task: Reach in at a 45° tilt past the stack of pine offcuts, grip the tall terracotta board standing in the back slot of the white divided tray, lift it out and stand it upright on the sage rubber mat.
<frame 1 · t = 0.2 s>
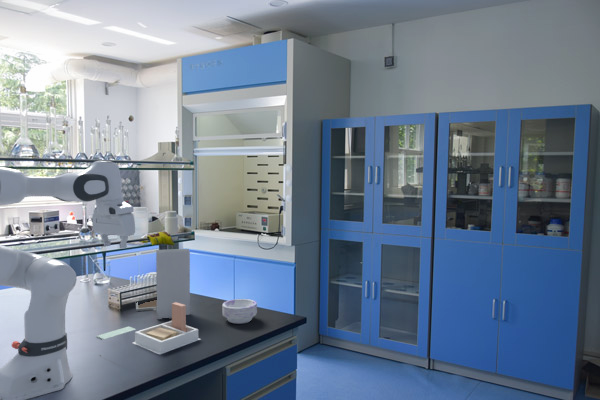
hand: (115, 247, 159), 39 cm above the table, tool pointing down, fingers open, 8 cm apart
sage mat: (122, 336, 181), on the table
white divided tray: (172, 341, 177), on the table
clipboard: (156, 303, 227), on the table
terracotta board: (178, 336, 179), point 1 cm above the table, touching white divided tray
offcut upper: (161, 337, 172), point 3 cm above the table, touching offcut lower
paper bowls: (239, 321, 202), on the table
brochure: (173, 316, 206), on the table
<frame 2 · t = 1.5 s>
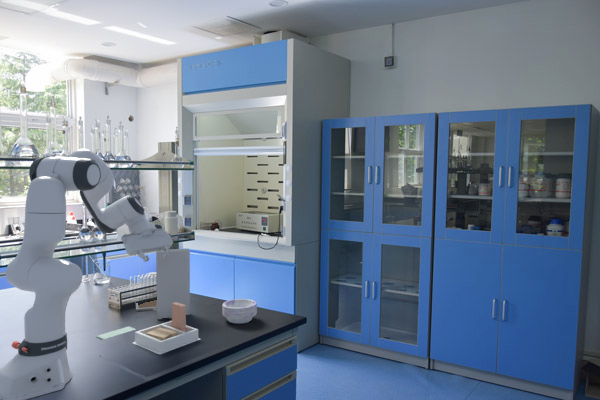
hand: (157, 258, 185), 30 cm above the table, tool tilted 45°, fingers open, 8 cm apart
nothing on the table moved.
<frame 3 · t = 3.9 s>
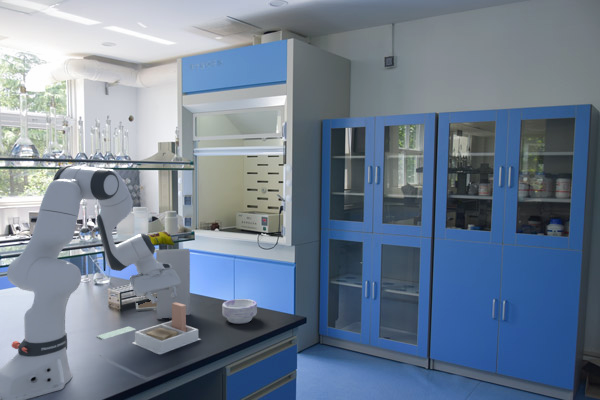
hand: (165, 299, 183), 14 cm above the table, tool tilted 45°, fingers open, 8 cm apart
nothing on the table moved.
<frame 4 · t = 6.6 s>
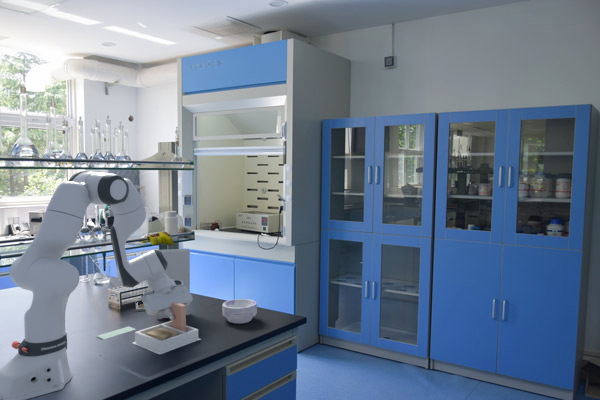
hand: (177, 317, 179), 8 cm above the table, tool tilted 45°, fingers closed on terracotta board, 2 cm apart
terracotta board: (178, 336, 179), point 1 cm above the table, touching gripper, white divided tray
everything else where it was.
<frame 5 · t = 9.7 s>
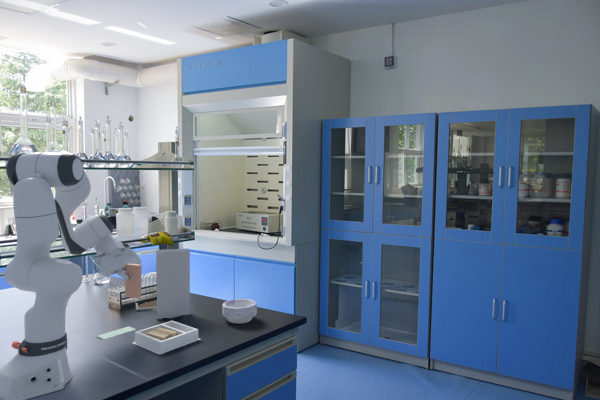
hand: (131, 278, 181), 23 cm above the table, tool tilted 45°, fingers closed on terracotta board
terracotta board: (133, 296, 181), point 16 cm above the table, touching gripper
everything else where it was.
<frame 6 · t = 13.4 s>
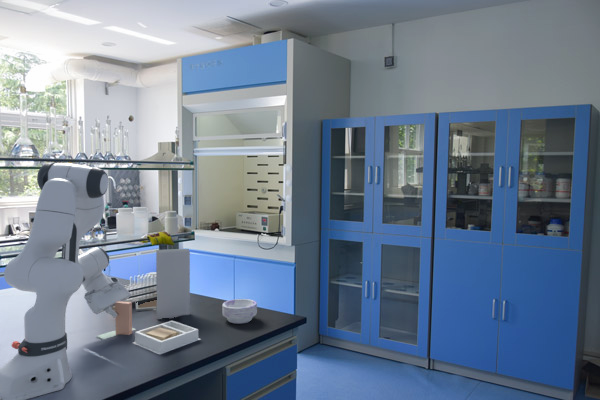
hand: (121, 313, 181), 9 cm above the table, tool tilted 45°, fingers open, 5 cm apart
terracotta board: (123, 334, 182), resting on sage mat
everything else where it was.
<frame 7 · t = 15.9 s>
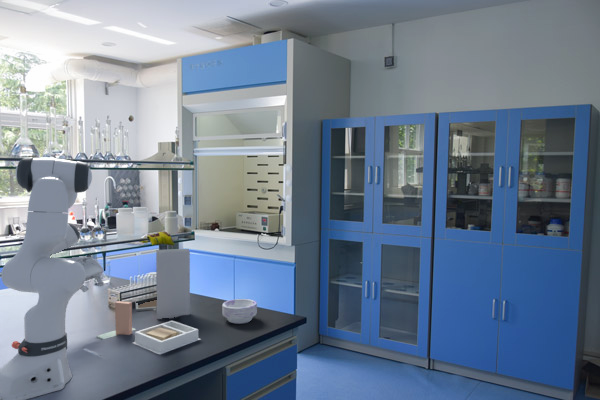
hand: (94, 287, 183), 18 cm above the table, tool tilted 45°, fingers open, 8 cm apart
nothing on the table moved.
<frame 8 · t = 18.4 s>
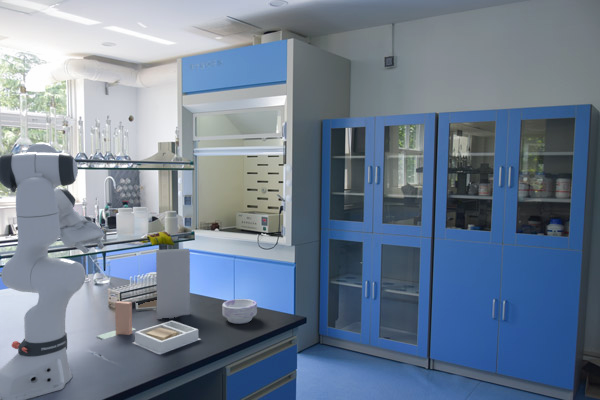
hand: (94, 250, 184), 33 cm above the table, tool tilted 45°, fingers open, 8 cm apart
nothing on the table moved.
at the end: terracotta board inside the target area on the sage mat (0.6 cm from its centre), point 0.5 cm above the sage mat's base; terracotta board tilted 0°; the gripper is holding nothing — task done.
